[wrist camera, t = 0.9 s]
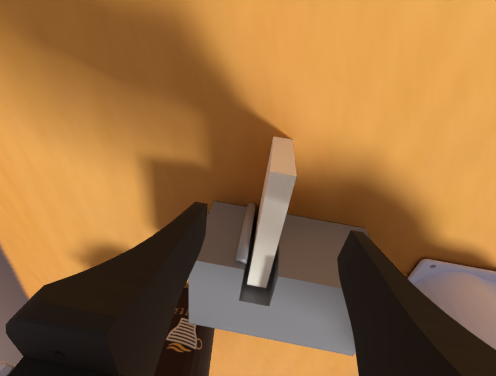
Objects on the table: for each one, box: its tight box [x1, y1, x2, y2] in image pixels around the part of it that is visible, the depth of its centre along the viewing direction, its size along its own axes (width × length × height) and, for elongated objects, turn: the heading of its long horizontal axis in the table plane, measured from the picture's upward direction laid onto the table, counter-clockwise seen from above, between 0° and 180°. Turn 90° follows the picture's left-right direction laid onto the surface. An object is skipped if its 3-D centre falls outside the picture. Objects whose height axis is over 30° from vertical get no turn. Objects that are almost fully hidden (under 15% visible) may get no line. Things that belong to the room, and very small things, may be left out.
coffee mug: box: [154, 288, 215, 376], centre depth 26 cm, size 12×9×10 cm
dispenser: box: [189, 201, 371, 356], centre depth 21 cm, size 14×9×7 cm, turn 82°
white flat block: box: [247, 136, 297, 288], centre depth 18 cm, size 2×10×6 cm, turn 172°
